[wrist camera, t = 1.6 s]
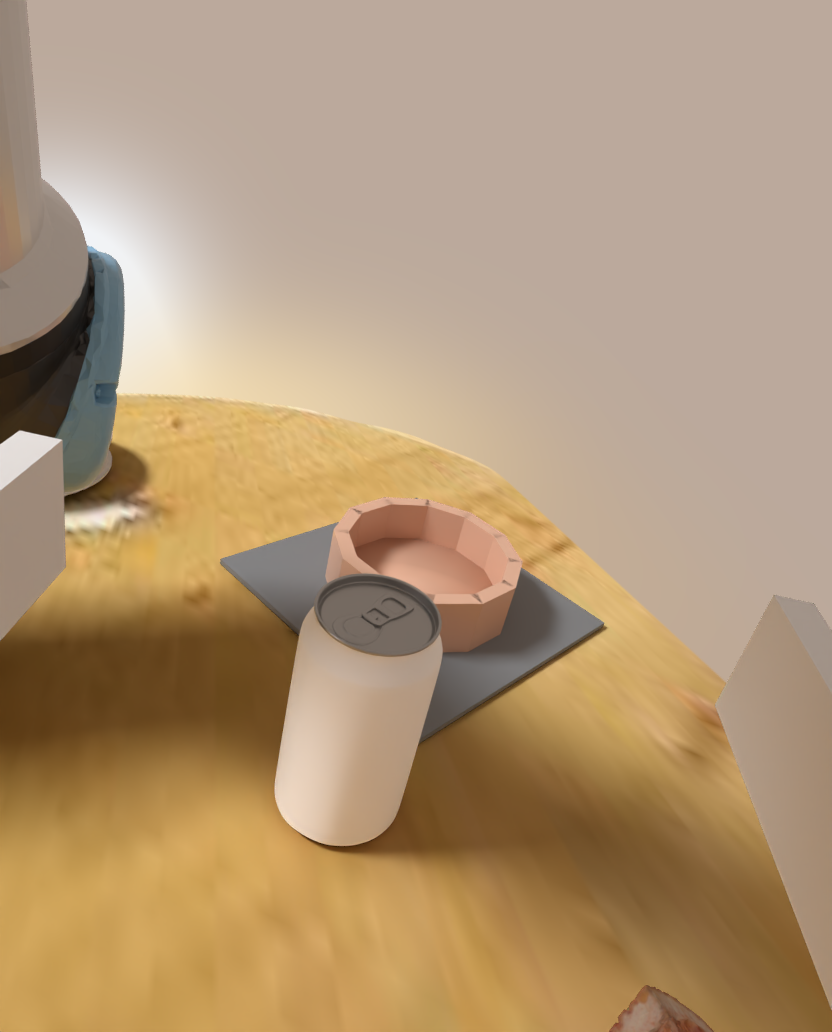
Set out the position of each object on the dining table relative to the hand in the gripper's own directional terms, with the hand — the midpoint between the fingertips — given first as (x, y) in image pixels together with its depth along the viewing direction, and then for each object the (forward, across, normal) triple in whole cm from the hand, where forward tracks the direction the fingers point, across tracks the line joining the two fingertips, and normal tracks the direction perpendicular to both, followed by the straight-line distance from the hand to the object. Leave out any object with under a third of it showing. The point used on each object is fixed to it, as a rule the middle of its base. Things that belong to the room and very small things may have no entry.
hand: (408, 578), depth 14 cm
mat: (+34, +2, -24) cm, 41 cm away
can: (+15, 0, -24) cm, 29 cm away
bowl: (+34, +2, -24) cm, 41 cm away
